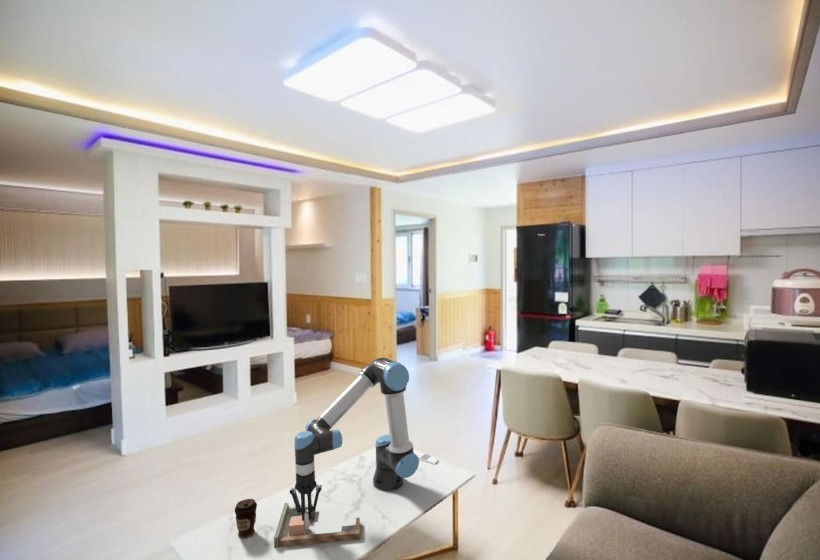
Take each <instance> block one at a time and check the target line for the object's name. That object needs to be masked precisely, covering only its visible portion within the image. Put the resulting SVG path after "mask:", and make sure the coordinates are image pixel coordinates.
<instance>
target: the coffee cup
mask: <svg viewBox="0 0 820 560" xmlns="http://www.w3.org/2000/svg"><path fill="white" fill-rule="evenodd" d="M257 506H258V503H257V502H256V500H255V499H253V498H245V499H243V500H240V501H238V502H237V503H236V505H235V508H234V513H235V521H236V523H235V524H236V528H237V531H238V533H237V536H238V538H240V539H247V538H250V537H253V536H254V535H255V533H256V530H255V524H256V522H257V520H256V519H257Z"/></svg>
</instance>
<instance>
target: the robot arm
mask: <svg viewBox="0 0 820 560" xmlns="http://www.w3.org/2000/svg"><path fill="white" fill-rule="evenodd" d="M409 381H410V373H409V371H408V369H407V367H406V366H405V365H403V364H402V363H400V362H398V361H394V360H392V359H390V358H386V357H378V358H376V359H373V360H372V361H370V362H369V363H368V364H367V365H365V366H364V368H362V369H361V371H359V372H358V377H357V378H356V379H354V381H353V382H352V383H350V385H349V386H348V387H347V388H346V389H345V390H344V391H343V392H342V393H341V394H340V395H339V396H338V397H337V398H336V399H335V400H334V401H333V402H332V403H331V405H329V406H328V407H327V408H326V409H325V410H324V412H323V413H322V414H320V416H319V417H318V418H315V419H311V420H309V421H308V422H307V424H306V425H305V430H304V431H300V432H298V433H296V435H295V437H294V458H295V459H294V460H295V461H294V466H295V484H294V486H292V487H290V489H289V494H290V496H291V497H292V499H293V502H294V506H295V507H296V510H297V512H298V513H297V514H301V516H302V521H305V530H310V524H311V521H310V522H309V520H311V519H312V514H313V512H315V511H316V509H317V504H318V500H319V495H320V493H321V491H322V488H323V485H322V484H317V481H316V475H315V474H316V472H315V467H316V466H315V456H316V455H319V454H322V453H323V454H324V453H327V452H330V451H335V450H336V449H337V450H338V448H341V447H342V445H343V436H342V435H343V434H342V433H341V431H340V429H332V428H333V427H334V426H335V425H336V424H337V423H338V422H339V421H340V420H341V419H342V418H343V416H344V415H345V414H347V412H348V411H349V410H350V409H351V408H352V407H353V406H354V405H355V404H356V403H357V402H358V401H359V400H360V399H362V397H363V396H364V395H365V394H366V392H367V391H369V389H370V388H375V386H376V385H377V384H379V387H380V393H381V394H382V395H384V400H385V408H386V414H387V423H388V430H389V434H385V435H381V436H379V437H378V438H376V440H375V445H374V446H375V467H376V468H375V471H374V474H373V477H372V485H373V486H374V488H376V489H377V490H380V491H385V492H387V491H388V492H389V491H394V490H397V489H399V488H401V487H402V486H403V485H404V479H406V478H410V477H411V476H413V475H414V474H416V471H417V470H418V468H419V464H420V459H419V456H418V455H417V454H416V453H415V451H414V445H413V442H412V441H410V439H409V431H408V421H407V412H406V405H405V395H404V393H405V391H407V386H408V383H409ZM331 429H332V430H331ZM314 490H315V496H314V501H313V502H312V493H313V491H314ZM297 493H298V494H300V499H299V496H298V494H297ZM306 497H307V498H306ZM306 499H307V504H308V510H305V505H306ZM312 504H313V506H312ZM300 505H301V506H300ZM299 512H301V513H299Z"/></svg>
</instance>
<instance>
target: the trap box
mask: <svg viewBox="0 0 820 560" xmlns="http://www.w3.org/2000/svg"><path fill="white" fill-rule="evenodd" d="M313 505H314V503H312V506H313ZM300 506H301V504H300ZM282 508H283V509H282V511H281V513H280V516H279V517H280V518H279V520H278V524H277V526H276V530H275V534H274V536H273V548H284V547H285V548H286V547H294V546H295V547H296V546H307V545H316V544H323V543H324V544H326V543H334V542H335V543H336V542H346V541H355V540H361V537H360V536H361V519H360V517H356V518H355V524H353V525H352V524H349V525H342V526H341V531H335V532H324V533H314V534H305V535H302V536H291V537H289V536H284V537H282V535H283V532H284V529H285V526H286V522H287V518H288V515H294V514H295V515H296V514H302V513H301V512H299V513H298V512H297V510H296V507H295V505H289V502H284V505H283V507H282ZM305 510H308V503H307V504H306V503H305ZM319 514H320V511H316V512H315V511H312V519H311V520H309V522H310V523H316V522H318V519H319Z"/></svg>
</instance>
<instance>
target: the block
mask: <svg viewBox="0 0 820 560" xmlns="http://www.w3.org/2000/svg"><path fill="white" fill-rule="evenodd" d="M306 530H307V529H306ZM306 530H305V521H302V515H295V516H291V517H290V520H289V523H288V537H291V536H302V535H306Z"/></svg>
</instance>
